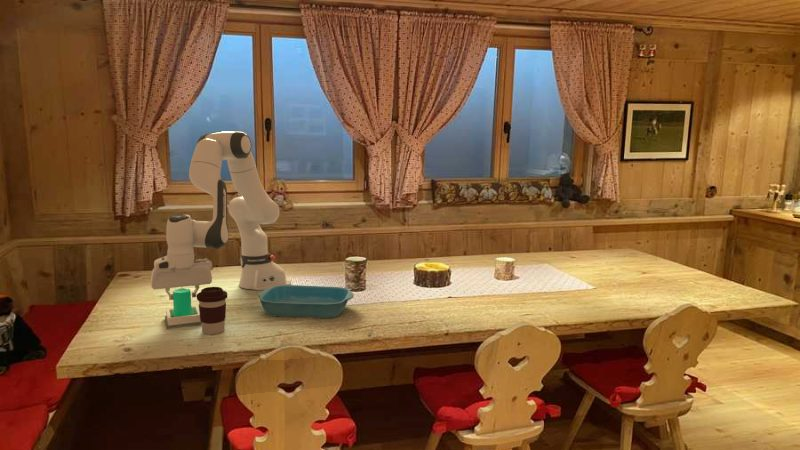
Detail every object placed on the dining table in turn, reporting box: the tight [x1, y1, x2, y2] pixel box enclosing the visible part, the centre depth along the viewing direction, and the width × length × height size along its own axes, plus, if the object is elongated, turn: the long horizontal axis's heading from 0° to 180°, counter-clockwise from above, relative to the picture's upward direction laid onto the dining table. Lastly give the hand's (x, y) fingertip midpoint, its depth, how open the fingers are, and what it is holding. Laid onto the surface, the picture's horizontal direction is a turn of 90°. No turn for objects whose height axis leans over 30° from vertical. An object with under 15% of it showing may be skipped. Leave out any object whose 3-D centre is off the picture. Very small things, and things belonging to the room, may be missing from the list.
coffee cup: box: [196, 286, 228, 335], centre depth 193 cm, size 10×10×15 cm
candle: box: [172, 287, 192, 317], centre depth 202 cm, size 6×6×12 cm
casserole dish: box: [257, 284, 354, 319], centre depth 218 cm, size 37×22×7 cm, turn 85°
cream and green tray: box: [164, 305, 202, 329], centre depth 204 cm, size 15×11×4 cm
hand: (182, 298), depth 202 cm, fingers open, 6 cm apart
